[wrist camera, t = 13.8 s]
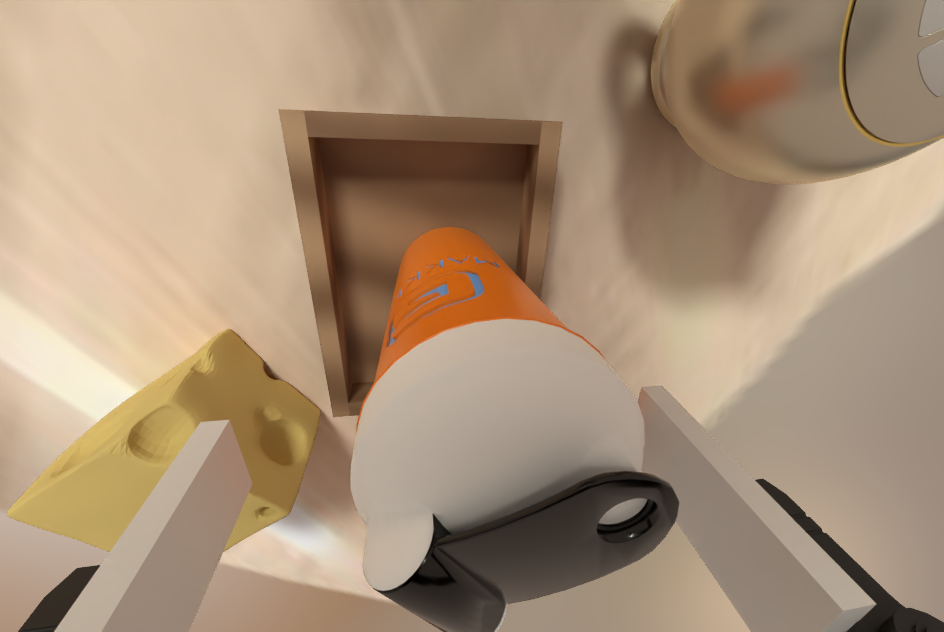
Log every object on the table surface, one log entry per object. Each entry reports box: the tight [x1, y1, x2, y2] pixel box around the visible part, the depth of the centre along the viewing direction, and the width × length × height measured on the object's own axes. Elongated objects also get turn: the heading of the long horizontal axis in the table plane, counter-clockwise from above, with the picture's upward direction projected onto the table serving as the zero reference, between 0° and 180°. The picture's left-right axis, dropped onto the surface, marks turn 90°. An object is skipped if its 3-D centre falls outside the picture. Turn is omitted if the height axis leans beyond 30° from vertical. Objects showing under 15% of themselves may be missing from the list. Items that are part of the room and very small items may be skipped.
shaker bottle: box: [350, 227, 680, 632], centre depth 17 cm, size 9×9×20 cm
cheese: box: [7, 329, 320, 552], centre depth 25 cm, size 10×11×10 cm
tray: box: [279, 109, 562, 417], centre depth 25 cm, size 20×15×4 cm
